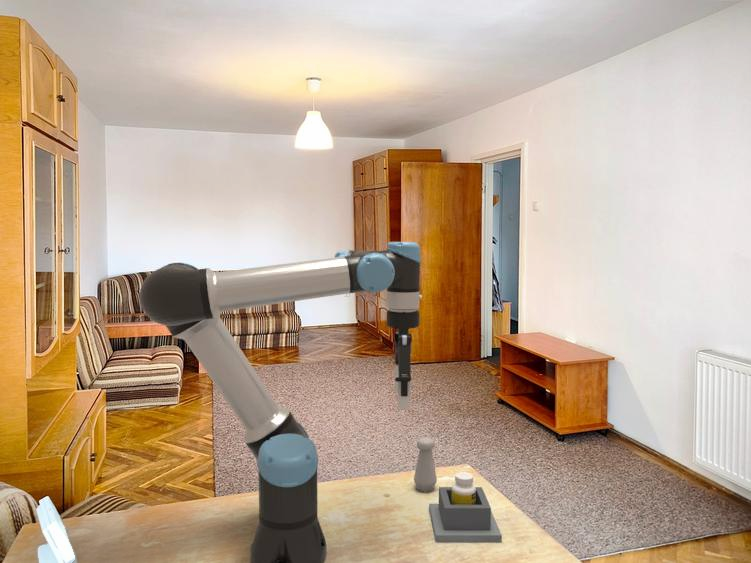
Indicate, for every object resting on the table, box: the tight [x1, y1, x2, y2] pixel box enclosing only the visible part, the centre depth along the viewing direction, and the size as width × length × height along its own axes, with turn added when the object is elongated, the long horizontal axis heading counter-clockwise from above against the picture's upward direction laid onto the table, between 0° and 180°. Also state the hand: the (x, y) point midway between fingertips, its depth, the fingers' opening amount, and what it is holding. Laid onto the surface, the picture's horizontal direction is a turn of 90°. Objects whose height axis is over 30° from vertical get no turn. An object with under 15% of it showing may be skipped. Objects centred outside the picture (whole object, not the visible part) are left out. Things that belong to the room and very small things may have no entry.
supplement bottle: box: [451, 471, 477, 505], centre depth 127 cm, size 5×5×10 cm
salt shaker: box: [413, 437, 438, 493], centre depth 144 cm, size 6×6×13 cm
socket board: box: [428, 486, 503, 543], centre depth 127 cm, size 14×14×6 cm
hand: (401, 400), depth 131 cm, fingers open, 13 cm apart
